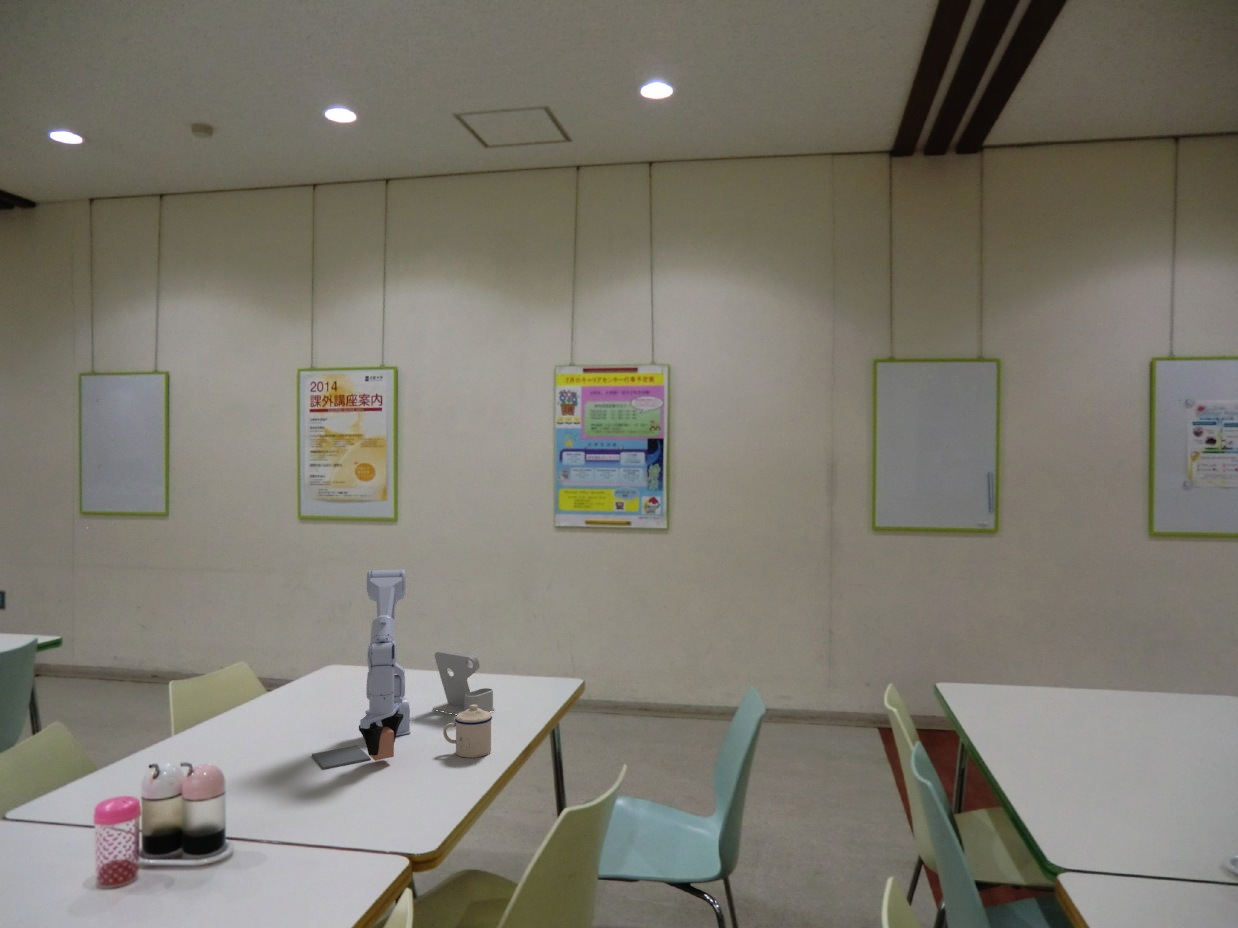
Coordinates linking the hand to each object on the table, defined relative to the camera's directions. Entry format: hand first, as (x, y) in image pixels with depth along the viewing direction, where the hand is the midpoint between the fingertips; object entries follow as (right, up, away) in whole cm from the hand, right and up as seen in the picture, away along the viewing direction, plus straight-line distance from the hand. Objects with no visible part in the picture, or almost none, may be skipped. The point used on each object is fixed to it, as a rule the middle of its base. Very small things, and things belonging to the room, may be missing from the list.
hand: (381, 749), depth 187 cm
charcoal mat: (-11, -3, +3) cm, 12 cm away
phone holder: (+11, -4, +43) cm, 45 cm away
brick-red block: (0, -2, 0) cm, 2 cm away
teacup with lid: (+19, -4, +7) cm, 21 cm away
